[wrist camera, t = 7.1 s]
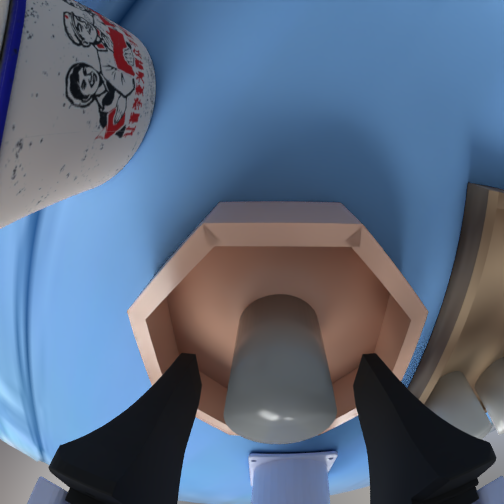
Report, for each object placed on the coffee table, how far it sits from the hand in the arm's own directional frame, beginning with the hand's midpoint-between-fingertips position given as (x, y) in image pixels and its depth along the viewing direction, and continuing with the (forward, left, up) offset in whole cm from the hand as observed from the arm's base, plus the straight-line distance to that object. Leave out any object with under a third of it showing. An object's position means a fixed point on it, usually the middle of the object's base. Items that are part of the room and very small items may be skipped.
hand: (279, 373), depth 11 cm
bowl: (0, 0, -4) cm, 4 cm away
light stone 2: (-7, -19, -3) cm, 20 cm away
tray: (-2, -16, -4) cm, 17 cm away
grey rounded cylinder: (0, 0, -3) cm, 3 cm away
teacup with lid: (+13, +10, -4) cm, 17 cm away
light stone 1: (-7, -13, -3) cm, 15 cm away
